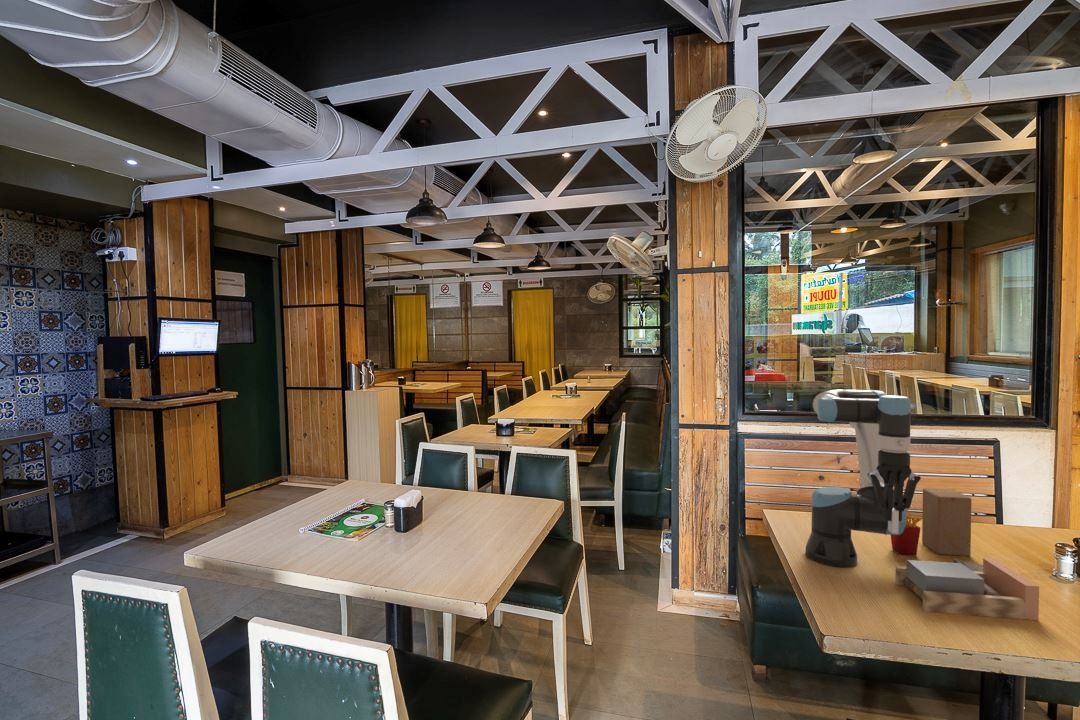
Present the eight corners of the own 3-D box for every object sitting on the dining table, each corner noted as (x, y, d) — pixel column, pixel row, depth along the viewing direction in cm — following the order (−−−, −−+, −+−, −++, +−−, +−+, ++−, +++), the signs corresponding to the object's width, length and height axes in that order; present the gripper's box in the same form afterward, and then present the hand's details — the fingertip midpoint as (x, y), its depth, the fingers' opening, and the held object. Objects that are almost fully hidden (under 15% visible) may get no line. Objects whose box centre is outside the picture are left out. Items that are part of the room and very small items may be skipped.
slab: (925, 593, 139) (925, 575, 139) (906, 576, 149) (906, 559, 148) (983, 597, 136) (984, 579, 136) (960, 580, 146) (961, 563, 146)
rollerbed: (925, 611, 136) (926, 593, 136) (895, 582, 152) (895, 566, 152) (1024, 619, 132) (1025, 600, 131) (982, 588, 148) (983, 571, 148)
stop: (1024, 619, 132) (1025, 585, 131) (982, 588, 148) (983, 558, 147) (1038, 620, 131) (1039, 586, 131) (994, 589, 147) (995, 559, 147)
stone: (1015, 581, 153) (1015, 571, 153) (1014, 590, 147) (1014, 580, 147) (952, 565, 163) (952, 556, 163) (949, 574, 157) (949, 565, 157)
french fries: (921, 556, 170) (921, 512, 169) (896, 556, 170) (896, 513, 169) (903, 546, 178) (903, 504, 178) (879, 546, 179) (879, 504, 178)
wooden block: (971, 556, 169) (972, 498, 168) (937, 554, 171) (938, 496, 170) (953, 544, 179) (954, 489, 178) (921, 542, 181) (922, 488, 180)
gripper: (874, 452, 141) (873, 535, 142) (927, 453, 138) (926, 538, 139) (862, 446, 148) (862, 525, 149) (912, 448, 146) (911, 528, 147)
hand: (893, 531), depth 144 cm, fingers closed
